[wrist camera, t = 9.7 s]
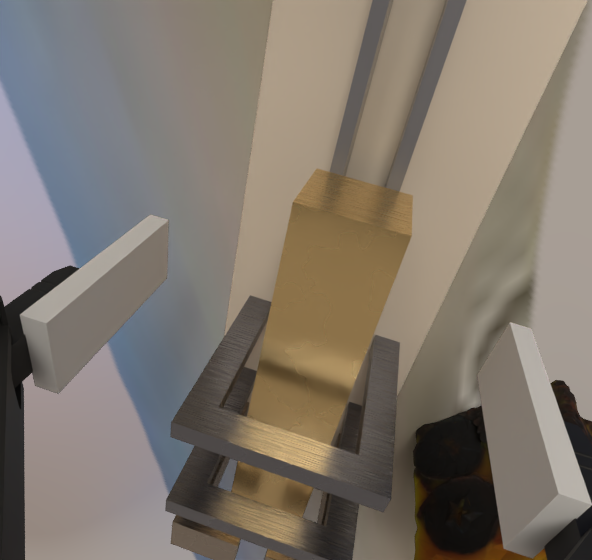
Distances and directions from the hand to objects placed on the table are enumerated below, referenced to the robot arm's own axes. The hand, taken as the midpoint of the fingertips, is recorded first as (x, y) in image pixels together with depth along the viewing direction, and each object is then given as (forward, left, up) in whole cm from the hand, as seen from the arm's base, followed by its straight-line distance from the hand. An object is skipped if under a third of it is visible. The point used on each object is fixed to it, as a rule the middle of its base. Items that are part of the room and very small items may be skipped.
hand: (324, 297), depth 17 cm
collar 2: (+13, 0, -8) cm, 15 cm away
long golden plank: (+8, 0, -5) cm, 9 cm away
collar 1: (+7, 0, -8) cm, 11 cm away
